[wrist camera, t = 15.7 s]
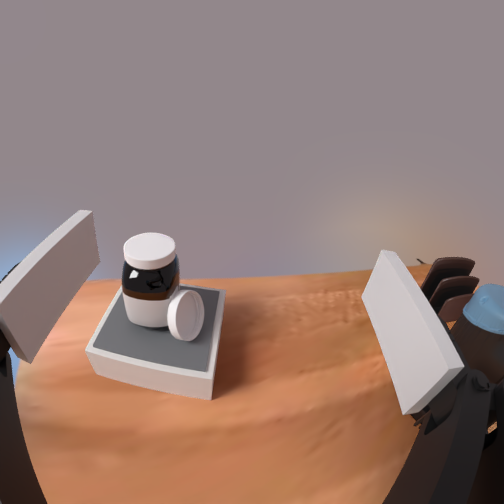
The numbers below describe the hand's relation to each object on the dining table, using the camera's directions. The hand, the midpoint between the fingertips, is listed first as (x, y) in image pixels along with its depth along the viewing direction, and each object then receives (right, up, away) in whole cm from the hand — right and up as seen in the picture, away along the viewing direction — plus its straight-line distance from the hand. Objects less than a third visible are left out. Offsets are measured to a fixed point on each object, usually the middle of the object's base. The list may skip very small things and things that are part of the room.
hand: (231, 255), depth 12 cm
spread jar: (-12, -10, +27) cm, 31 cm away
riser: (-13, -15, +30) cm, 36 cm away
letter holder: (+53, -16, +48) cm, 73 cm away
